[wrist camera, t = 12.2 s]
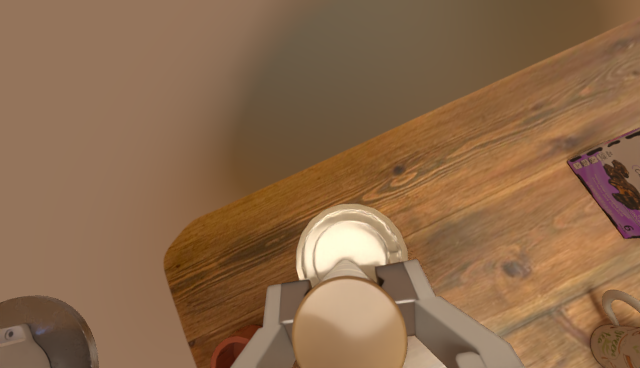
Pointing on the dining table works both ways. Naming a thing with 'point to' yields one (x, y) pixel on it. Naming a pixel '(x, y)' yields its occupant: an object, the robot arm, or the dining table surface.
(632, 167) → the candy box
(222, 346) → the utensil pot
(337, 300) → the stick
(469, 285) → the dining table surface
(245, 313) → the dining table surface
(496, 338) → the robot arm
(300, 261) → the bowl
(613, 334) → the mug
